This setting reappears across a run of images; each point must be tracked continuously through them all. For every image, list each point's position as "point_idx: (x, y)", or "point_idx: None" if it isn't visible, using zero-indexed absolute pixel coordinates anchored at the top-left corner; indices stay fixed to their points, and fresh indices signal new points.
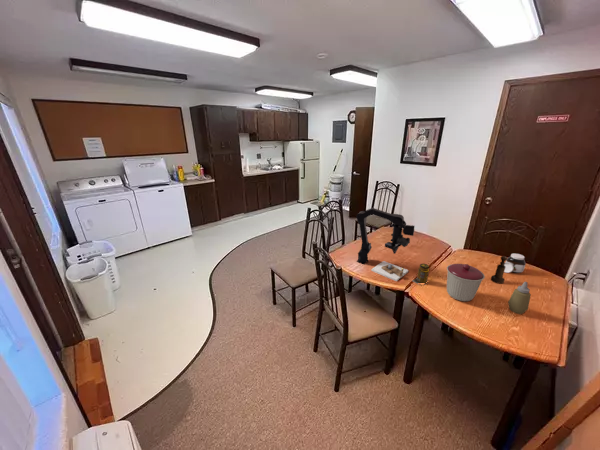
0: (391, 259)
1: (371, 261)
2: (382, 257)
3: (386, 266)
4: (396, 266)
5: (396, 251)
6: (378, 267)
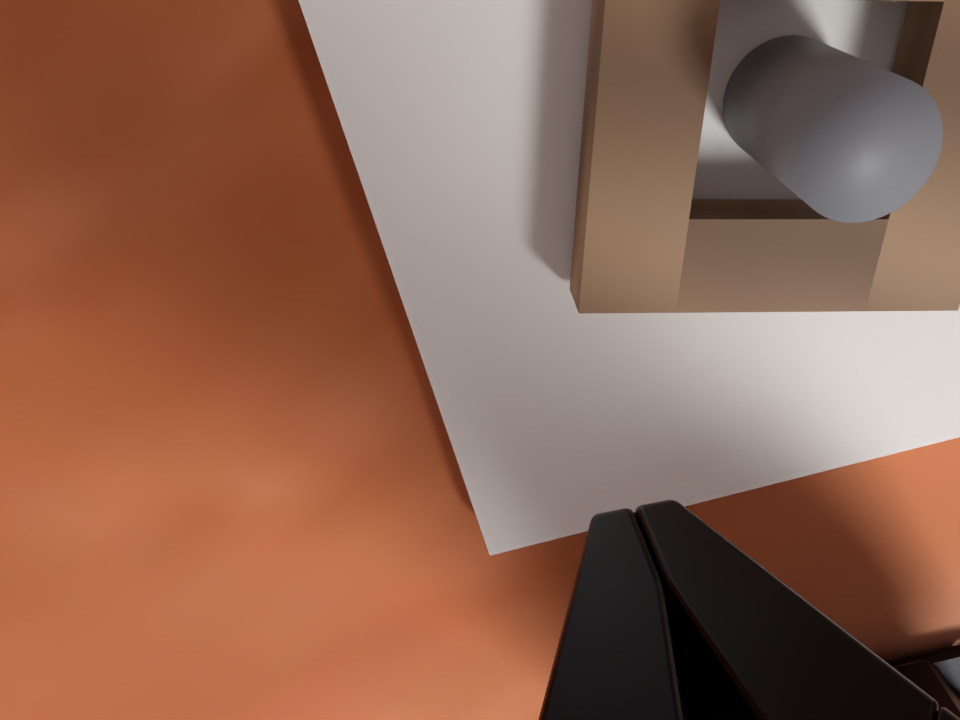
0: (159, 546)
1: None
2: (314, 694)
3: (811, 254)
4: (402, 147)
5: (578, 611)
6: (929, 367)
